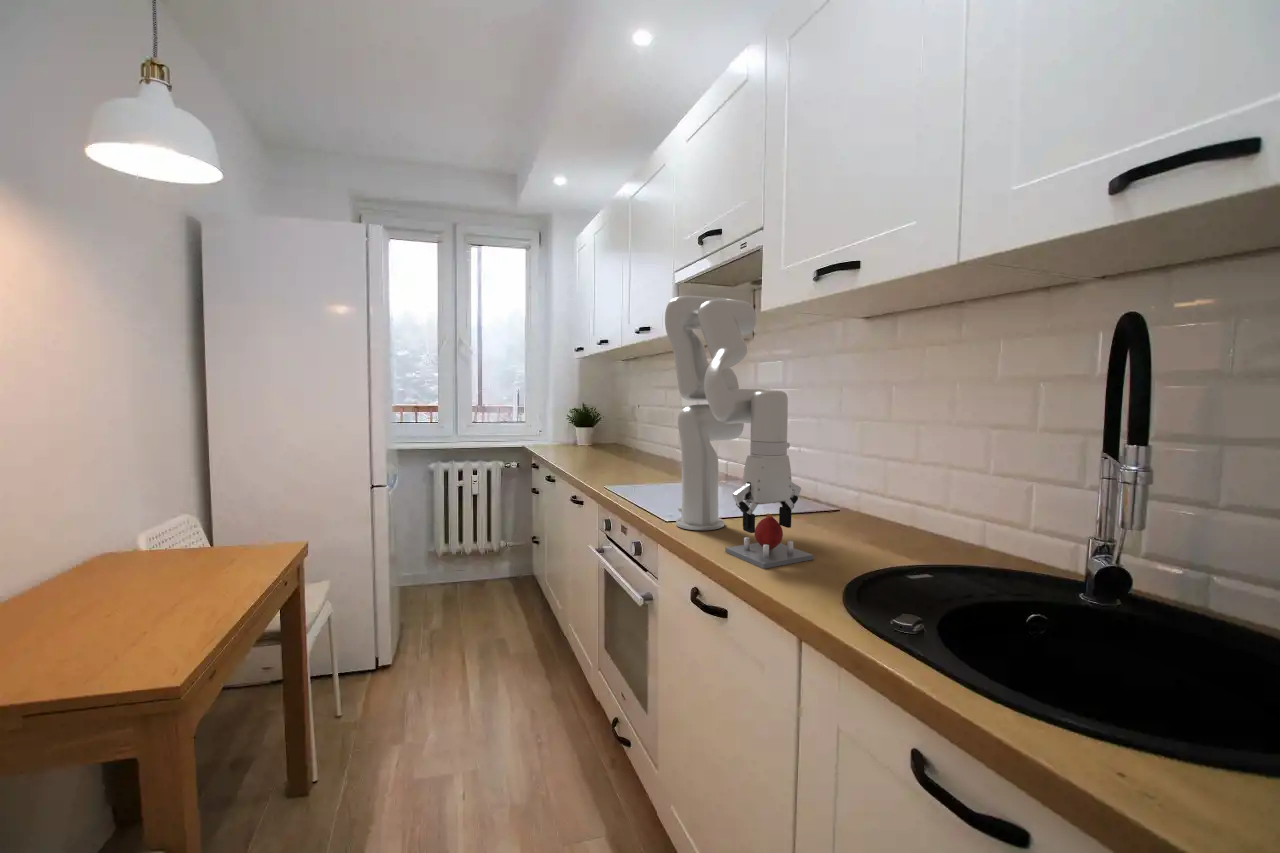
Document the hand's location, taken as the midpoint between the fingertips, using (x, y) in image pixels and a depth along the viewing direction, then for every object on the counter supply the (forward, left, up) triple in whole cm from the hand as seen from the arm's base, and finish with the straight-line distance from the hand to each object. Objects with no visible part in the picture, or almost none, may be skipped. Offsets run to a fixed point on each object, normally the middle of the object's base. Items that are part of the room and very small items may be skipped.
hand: (767, 528), depth 120 cm
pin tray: (0, 0, -6) cm, 6 cm away
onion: (0, 0, -5) cm, 5 cm away
